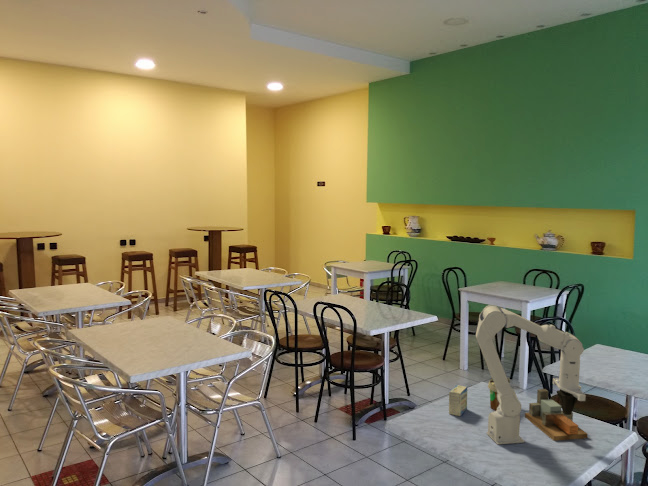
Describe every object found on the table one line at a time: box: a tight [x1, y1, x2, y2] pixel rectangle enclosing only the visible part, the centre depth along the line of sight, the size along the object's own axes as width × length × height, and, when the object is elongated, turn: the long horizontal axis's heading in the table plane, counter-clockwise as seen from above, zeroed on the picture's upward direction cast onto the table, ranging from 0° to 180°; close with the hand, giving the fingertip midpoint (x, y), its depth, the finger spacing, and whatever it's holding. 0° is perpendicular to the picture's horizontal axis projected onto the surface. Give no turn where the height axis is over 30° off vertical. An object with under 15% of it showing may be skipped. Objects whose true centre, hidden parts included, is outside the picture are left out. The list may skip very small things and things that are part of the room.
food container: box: [487, 377, 511, 412], centre depth 195 cm, size 12×6×10 cm, turn 145°
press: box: [524, 388, 589, 441], centre depth 178 cm, size 12×18×10 cm, turn 8°
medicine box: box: [448, 384, 468, 417], centre depth 191 cm, size 8×4×9 cm, turn 147°
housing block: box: [540, 398, 562, 417], centre depth 181 cm, size 4×6×6 cm, turn 8°
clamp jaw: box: [542, 410, 579, 435], centre depth 173 cm, size 10×10×4 cm
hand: (567, 413), depth 166 cm, fingers closed
